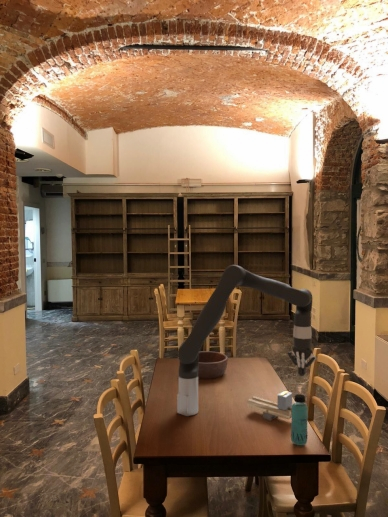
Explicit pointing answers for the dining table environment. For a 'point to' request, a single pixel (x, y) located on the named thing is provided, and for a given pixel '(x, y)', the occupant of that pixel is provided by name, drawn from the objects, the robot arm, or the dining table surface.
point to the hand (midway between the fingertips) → (302, 375)
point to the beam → (268, 408)
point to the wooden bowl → (211, 364)
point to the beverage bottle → (299, 421)
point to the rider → (284, 400)
